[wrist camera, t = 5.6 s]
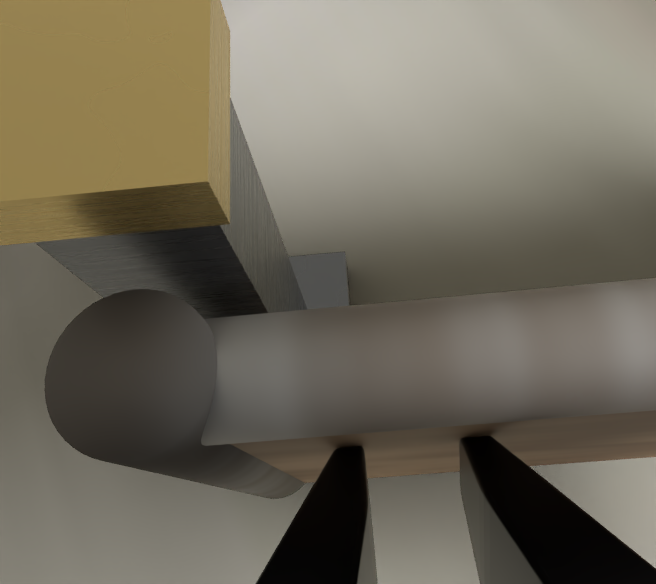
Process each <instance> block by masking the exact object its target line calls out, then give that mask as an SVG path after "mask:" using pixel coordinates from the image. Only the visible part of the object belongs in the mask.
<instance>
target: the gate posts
mask: <svg viewBox="0 0 656 584" xmlns="http://www.w3.org/2000/svg"><path fill="white" fill-rule="evenodd" d="M32 242H35V243H36V244H37V245H39V246H40V247H41V248H42V249H43V250H45V251H46V252H47V253H48V254H50V255H51V256H52V257H53V258H55V259H56V260H57V261H58V262H60V263H61V264H62V265H63V266H65V267H66V268H67V269H68V270H70V271H71V272H72V273H73V274H75V275H76V276H77V277H78V278H80V279H81V280H82V281H83V282H85V283H86V284H87V285H88V286H90V287H91V288H92V289H93V290H95V291H96V292H97V293H98V294H99V295H101V296H102V297H103V298H105V297H107V296H110V295H112V294H115V293H119V292H122V291H127V290H134V289H151V290H158V291H162V292H166V293H169V294H172V295H174V296H176V297H178V298H180V299H182V300H184V301H185V302H186V303H188V304H189V305H190V306H192V307H193V308H194V309H195V310H196V311H197V312H198V313H199V314H200V315H201V316H202V318H203V319H209V318H220V317H231V316H241V315H252V314H263V313H274V312H285V311H296V310H307V309H318V308H329V307H340V306H350V298H349V285H348V271H347V262H346V256H345V252H336V253H325V254H314V255H302V256H291V257H288V255H287V252H286V249H285V246H284V244H283V241H282V238H281V235H280V233H279V230H278V227H277V224H276V222H275V219H274V216H273V213H272V211H271V208H270V205H269V202H268V200H267V197H266V194H265V191H264V189H263V186H262V183H261V180H260V178H259V175H258V172H257V169H256V167H255V164H254V161H253V158H252V156H251V153H250V150H249V147H248V145H247V142H246V139H245V136H244V134H243V131H242V128H241V125H240V123H239V120H238V117H237V114H236V112H235V109H234V106H233V103H232V101H231V98H230V30H229V27H228V23H227V20H226V17H225V14H224V11H223V8H222V4H221V1H220V0H0V245H10V244H21V243H32Z"/></svg>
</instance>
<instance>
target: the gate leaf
mask: <svg viewBox="0 0 656 584" xmlns="http://www.w3.org/2000/svg"><path fill="white" fill-rule="evenodd" d="M45 398H46V404H47V408H48V412H49V415H50V417H51V420H52V422H53V424H54V426H55V427H56V429H57V431H58V432H59V433H60V435H61V436H62V437H63V438H64V440H65V441H66V442H68V443H69V444H70V445H71V446H72V447H73V448H75V449H76V450H78V451H79V452H81V453H83V454H85V455H87V456H89V457H91V458H94V459H98V460H101V461H105V462H110V463H114V464H119V465H123V466H128V467H132V468H137V469H141V470H146V471H150V472H154V473H159V474H163V475H168V476H172V477H177V478H181V479H186V480H190V481H195V482H199V483H203V484H208V485H212V486H217V487H221V488H226V489H230V490H235V491H239V492H244V493H248V494H252V495H257V496H261V497H266V498H283V497H286V496H289V495H291V494H293V493H295V492H296V491H297V490H299V489H300V488H301V487H302V486H303V485H304V484H305V483H310V482H316V480H317V478H318V477H319V475H320V473H321V471H322V470H323V468H324V466H325V465H326V463H327V461H328V460H329V458H330V456H331V454H332V453H333V451H334V450H335V449H336V448H343V447H355V446H361V447H363V449H364V451H365V460H366V470H367V478H377V477H390V476H403V475H417V474H430V473H444V472H457V471H460V456H459V442H460V440H461V439H462V438H466V437H478V436H492V437H493V438H494V439H496V440H497V441H498V442H499V443H501V444H502V445H503V446H504V447H505V448H507V449H508V450H509V451H510V452H512V453H513V454H514V455H515V456H517V457H518V458H519V459H520V460H522V461H523V462H524V463H525V464H527V465H528V466H537V465H551V464H564V463H578V462H591V461H605V460H618V459H631V458H645V457H656V278H647V279H636V280H625V281H614V282H603V283H592V284H582V285H571V286H560V287H549V288H538V289H527V290H516V291H505V292H494V293H483V294H472V295H461V296H450V297H439V298H428V299H417V300H406V301H395V302H384V303H373V304H362V305H351V306H340V307H329V308H318V309H307V310H296V311H285V312H274V313H263V314H252V315H241V316H231V317H220V318H209V319H203V318H202V316H201V315H200V314H199V313H198V312H197V311H196V310H195V309H194V308H193V307H192V306H190V305H189V304H188V303H186V302H185V301H184V300H182V299H180V298H178V297H176V296H174V295H172V294H169V293H166V292H162V291H158V290H151V289H134V290H127V291H122V292H119V293H115V294H112V295H110V296H107V297H105V298H103V299H101V300H99V301H97V302H95V303H93V304H92V305H90V306H89V307H88V308H86V309H85V310H83V311H82V312H81V313H80V314H79V315H78V316H77V317H76V318H75V319H74V320H73V321H72V322H71V323H70V324H69V325H68V326H67V328H66V329H65V330H64V332H63V333H62V334H61V336H60V338H59V339H58V341H57V343H56V345H55V346H54V349H53V351H52V353H51V356H50V359H49V362H48V366H47V370H46V377H45Z"/></svg>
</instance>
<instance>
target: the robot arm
mask: <svg viewBox="0 0 656 584" xmlns="http://www.w3.org/2000/svg"><path fill="white" fill-rule="evenodd" d="M459 456H460V486H461V495H462V500H463V505H464V510H465V514H466V519H467V524H468V529H469V533H470V538H471V543H472V547H473V552H474V557H475V561H476V566H477V571H478V576H479V580H480V584H656V569H655V568H654V567H653V566H652V565H651V564H649V563H648V562H647V561H646V560H644V559H643V558H642V557H641V556H639V555H638V554H637V553H636V552H634V551H633V550H632V549H631V548H629V547H628V546H627V545H626V544H624V543H623V542H622V541H621V540H620V539H618V538H617V537H616V536H615V535H613V534H612V533H611V532H610V531H608V530H607V529H606V528H605V527H603V526H602V525H601V524H600V523H598V522H597V521H596V520H595V519H594V518H592V517H591V516H590V515H589V514H587V513H586V512H585V511H584V510H582V509H581V508H580V507H579V506H577V505H576V504H575V503H574V502H572V501H571V500H570V499H569V498H567V497H566V496H565V495H564V494H563V493H561V492H560V491H559V490H558V489H556V488H555V487H554V486H553V485H551V484H550V483H549V482H548V481H546V480H545V479H544V478H543V477H541V476H540V475H539V474H538V473H536V472H535V471H534V470H533V469H532V468H530V467H529V466H528V465H527V464H525V463H524V462H523V461H522V460H520V459H519V458H518V457H517V456H515V455H514V454H513V453H512V452H510V451H509V450H508V449H507V448H505V447H504V446H503V445H502V444H501V443H499V442H498V441H497V440H496V439H494V438H493V437H492V436H478V437H466V438H462V439H461V440H460V442H459ZM256 584H378V582H377V571H376V561H375V550H374V540H373V529H372V519H371V508H370V498H369V489H368V479H367V470H366V460H365V451H364V449H363V447H361V446H355V447H343V448H336V449H335V450H334V451H333V453H332V454H331V456H330V458H329V460H328V461H327V463H326V465H325V466H324V468H323V470H322V471H321V473H320V475H319V477H318V478H317V480H316V482H315V483H314V485H313V487H312V489H311V490H310V492H309V494H308V495H307V497H306V499H305V500H304V502H303V504H302V506H301V507H300V509H299V511H298V512H297V514H296V516H295V517H294V519H293V521H292V523H291V524H290V526H289V528H288V529H287V531H286V533H285V535H284V536H283V538H282V540H281V541H280V543H279V545H278V546H277V548H276V550H275V552H274V553H273V555H272V557H271V558H270V560H269V562H268V564H267V565H266V567H265V569H264V570H263V572H262V574H261V575H260V577H259V579H258V581H257V582H256Z"/></svg>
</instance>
